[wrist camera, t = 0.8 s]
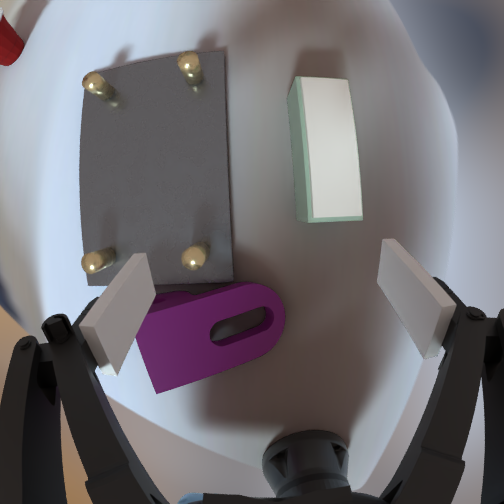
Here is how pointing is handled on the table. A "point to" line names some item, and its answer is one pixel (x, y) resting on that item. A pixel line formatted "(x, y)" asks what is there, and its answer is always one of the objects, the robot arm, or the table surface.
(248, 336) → the mounting bracket
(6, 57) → the plastic cup
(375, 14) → the table surface
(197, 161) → the chassis plate
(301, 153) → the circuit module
